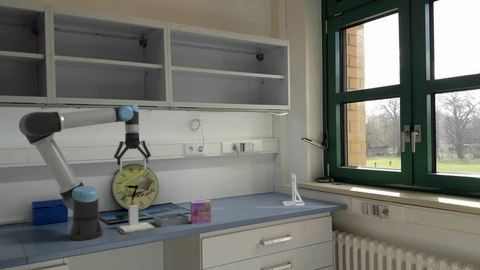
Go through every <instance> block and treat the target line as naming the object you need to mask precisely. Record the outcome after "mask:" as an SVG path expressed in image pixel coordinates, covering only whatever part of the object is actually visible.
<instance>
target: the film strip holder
mask: <svg viewBox="0 0 480 270" xmlns="http://www.w3.org/2000/svg"><path fill="white" fill-rule="evenodd" d="M297 198H298V200H297ZM282 205H283V206H286V207H289V206H291V207H292V206H293V207H294V206H295V207H297V206H299V207H301V206H305V205H306V203H304V201H303V199H302V198H301V196H300V194H299V192H298V189H297V175H296V174H295V172H291V200H289V201H287V200H286V201H285V200H284V201H282Z"/></svg>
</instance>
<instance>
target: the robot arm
mask: <svg viewBox="0 0 480 270" xmlns="http://www.w3.org/2000/svg"><path fill="white" fill-rule="evenodd" d="M139 110H140V109H139V106H138V105H137V104H125V105H123V106H115V107H105V108H97V109H95V108H94V109H89V110H88V109H87V110H80V111H78V110H77V111H70V112H59V111H33V112H28V113H26V114H24V115H23V116H22V117H21V118H20V120H19V123H18V128H19V131H20V133H21V134H23V135H24V136H25V138H26V139H27V141H28V143H29V144H30V145H31V146H35V148H36V150H37V151H38V154H39V155H40V156H41V158H42V160H43V161H44V163H45V165H46V166H47V168H48V170H49V172H50V173H51V175H52V176H53V178H54V180H55V182H56V183H57V185H58V187H59V191H58V193H59V195H60V196H61V200H62V202H63V204H64V206H65V207H66V208H68V209H69V210H72V223H71V227H70V230H69V233H68V236H69V239H70V240H72V241H87V240H88V241H89V240H92V239H97V238H99V237H102V236H103V235H104V229H103V226H102V223H101V220H100V215H99V214H100V210H99V209H100V208H99V207H100V205H99V204H100V203H99V196H100V195H99V190H98V189H97V187H95V186H91V185H90V186H89V185H87V186H86V185H84V183H83V181H82V179H77V176H76V175H75V173H74V172H73V170H72V168H71V167H70V165H69V163H68V162H67V160H66V158H65V156H64V155H63V153H62V151H61V150H60V148H59V146H58V144H57V143H56V140H55V139H54V135H55V134H56V133H60V132H62V131H63V130H66V129H67V130H68V129H75V128H81V127H89V126H98V125H102V124H103V125H105V124H111V123H120V122H121V123H122V122H123V123H124V125H125V126H124V127H125V128H124V129H125V130H124V132H125V134H124V137H125V138H124V139H125V140H124V141H122V140H121V141H119V146H117V149H116V151H115V153H114V156H113V159H116V161H117V166H119V168H118V169H119V170H118V171H119V172H123V161H122V160H123V159H122V158H123V156H124V155H125V154H126V152H127V151H128V150H136V149H137V151H138V152H140V154H141V155H142V156H143V170H145V171H146V170H147V164H149V159H148V158H150V157H152V154H151V153H150V150H149V148H148V146H147V144H146V141H145V140H140V122H139V121H140V120H139V118H140V111H139ZM124 145H125V147H124V148H123V146H124ZM140 145H142V148H143V149H144V150H143V149H142V148H141V146H140ZM122 148H123V150H122V151H121V149H122Z"/></svg>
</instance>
